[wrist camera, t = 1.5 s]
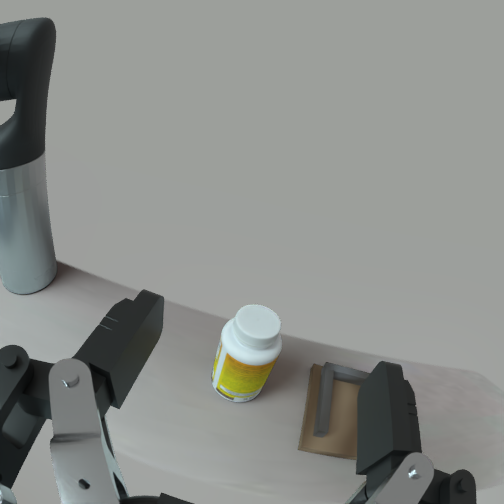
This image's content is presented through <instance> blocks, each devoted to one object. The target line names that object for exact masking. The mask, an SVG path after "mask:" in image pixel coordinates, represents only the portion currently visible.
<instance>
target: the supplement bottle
mask: <svg viewBox="0 0 504 504" xmlns="http://www.w3.org/2000/svg"><path fill="white" fill-rule="evenodd" d="M280 330H281V321H280V318H279V317H278V315H277V314H276V313H275V312H274V311H272V310H271V309H270V308H267V307H265V306H262V305H256V304H251V305H246V306H244V307H242V308H241V309H240V310H239V311H238V312H237V314H236V317H235V318H233V319H231V320H230V321H228V322H227V323H226V325H225V326H224V328H223V330H222V333H221V337H220V342H219V346H218V349H217V354H216V358H215V362H214V366H213V370H212V376H211V379H212V384H213V387H214V389H215V390H216V391H217V393H218V394H219V395H221V396H222V397H223V398H225V399H227V400H230V401H233V402H246V401H249V400H251V399H253V398H255V397H256V396H257V395H258V394H259V393H260V391H261V389H262V388H263V386H264V384H265V382H266V380H267V378H268V376H269V374H270V372H271V370H272V368H273V366H274V364H275V362H276V360H277V358H278V356H279V354H280V351H281V348H282V338H281V335H280V333H279V332H280Z"/></svg>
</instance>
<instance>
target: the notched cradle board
mask: <svg viewBox="0 0 504 504" xmlns="http://www.w3.org/2000/svg"><path fill="white" fill-rule="evenodd" d="M369 375H370V373H367V372H363V371H359V370H355V369H351V368H347V367H343V366H339V365H336V364H332V363H328V362H326V363H325V365H324V366H320V365H316V364H314V365H313V366H312V368H311V372H310V379H309V386H308V393H307V399H306V406H305V412H304V418H303V424H302V430H301V436H300V441H299V447H298V450H302V451H306V452H311V453H316V454H322V455H327V456H333V457H339V458H346V459H353V460H357V396H358V392H359V389H360V387H361V385H362V383H363V382H364V381H365V380H366V378H367V377H368V376H369Z"/></svg>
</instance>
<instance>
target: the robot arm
mask: <svg viewBox="0 0 504 504" xmlns="http://www.w3.org/2000/svg"><path fill="white" fill-rule="evenodd" d="M55 43H56V30H55V25H54V23H53V21H52V20H51V19H49V18H34V19H26V20H20V21H14V22H8V23H4V24H0V101H4V100H11V99H17V100H16V107H15V112H14V114H13V116H12V117H11V118H10V119H9V120H8V121H6V122H5V123H4V124H2V125H0V276H1V279H2V282H3V285H4V286H5V287H6V289H8V290H9V291H11V292H13V293H17V294H29V293H33V292H36V291H39V290H41V289H42V288H44V287H46V286H47V285H48V284H49V283H50V282H51V281H52V280H53V279H54V277H55V275H56V272H57V263H56V258H55V252H54V246H53V239H52V232H51V224H50V216H49V206H48V196H47V184H46V183H47V182H46V167H45V166H46V165H45V126H46V108H47V97H48V88H49V81H50V75H51V69H52V63H53V58H54V52H55ZM163 310H164V297H163V296H160V295H158V294H155V293H152V292H149V291H147V290H142V291H141V292H140V293H139V294H138V296H137V297H136V298H135V300H134V301H132V300H130V299H127V298H126V299H124V300H122V301H120V302H119V303H117V304H115V305H114V306H113V307H112V308H111V309H110V311H109V312H108V313H107V314H106V317H104V318H103V319H102V321H101V322H100V324H99V325H98V326H97V327H96V328H95V330H94V331H93V332H92V333H91V335H90V336H89V337H88V339H87V340H86V341H85V343H84V344H83V345H82V347H81V348H80V349H79V350H78V352H77V353H76V354H75V355H74V356H73V357H72V358H68V359H63V360H61V361H59V362H57V363H56V364H53V363H47V362H42V361H38V360H34V359H30V358H29V356H28V354H27V352H26V351H25V350H24V349H23V348H22V347H20V346H17V345H8V346H5V347H3V348H1V349H0V504H17V501H16V498H15V496H14V493H13V492H12V490H11V488H12V486H13V483H14V482H15V480H16V477H17V475H18V473H19V471H20V469H21V467H22V465H23V463H24V461H25V459H26V457H27V455H28V452H29V451H30V449H31V447H32V445H33V443H34V441H35V439H36V437H37V435H38V434H39V432H40V430H41V428H42V426H43V424H44V423H45V421H46V419H51V420H52V424H53V433H54V436H53V438H52V439H51V441H50V450H51V456H52V463H53V468H54V473H55V478H56V483H57V487H58V492H59V495H60V500H61V504H193V503H190V502H187V501H184V500H181V499H178V498H175V497H172V496H169V495H167V494H164V493H161V495H160V497H157V496H134V497H129V494H128V492H127V489H126V486H125V483H124V480H123V477H122V474H121V471H120V468H119V466H118V463H117V460H116V457H115V453H114V449H113V445H112V442H111V438H110V433H109V429H108V425H107V421H106V416H105V414H106V412H107V410H108V409H109V407H110V405H111V406H113V407H115V408H117V409H120V407H121V405H122V404H123V402H124V400H125V398H126V396H127V395H128V393H129V391H130V389H131V388H132V386H133V384H134V382H135V380H136V379H137V377H138V375H139V373H140V372H141V370H142V368H143V366H144V365H145V363H146V361H147V359H148V358H149V356H150V354H151V352H152V351H153V349H154V347H155V345H156V344H157V342H158V340H159V338H160V335H161V332H162V328H163ZM415 405H416V402H415V395H414V391H413V389H412V387H411V385H410V384H409V382H408V380H404V377H403V371H402V367H401V365H399V364H394V363H389V362H385V361H381V362H379V363H378V365H377V366H376V367H375V368H374V370H373V371H372V372H371V373H370V375H369V376H368V377H367V378H366V380H365V381H364V382H363V383H362V385H361V387H360V389H359V392H358V396H357V464H356V474H358V475H367V481H365V482H364V483H363V484H362V485H361V486H360V487H359V488H358V490H357V491H356V492H355V493H354V494H353V495H352V496H351V497H350V498H349V499H348V501H347V502H346V503H345V504H476V484H475V480H474V477H473V476H472V474H471V473H470V472H469V471H467V470H463V469H462V470H458V471H456V472H455V473H453V474H451V475H450V474H447V473H444V472H442V471H439V470H436V469H434V467H433V464H432V462H431V460H430V459H429V458H428V457H427V456H426V455H424V454H422V450H421V440H420V431H419V423H418V416H417V408H416V407H415Z"/></svg>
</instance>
